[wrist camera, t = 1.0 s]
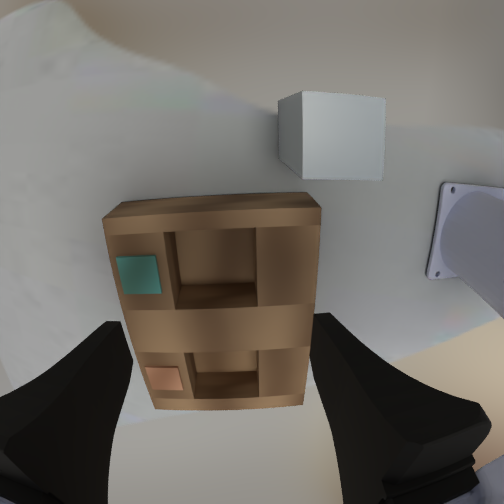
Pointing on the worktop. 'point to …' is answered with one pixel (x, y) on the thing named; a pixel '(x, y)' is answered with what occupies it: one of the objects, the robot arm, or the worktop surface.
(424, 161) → the worktop surface
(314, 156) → the matte gray box
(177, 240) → the port block
